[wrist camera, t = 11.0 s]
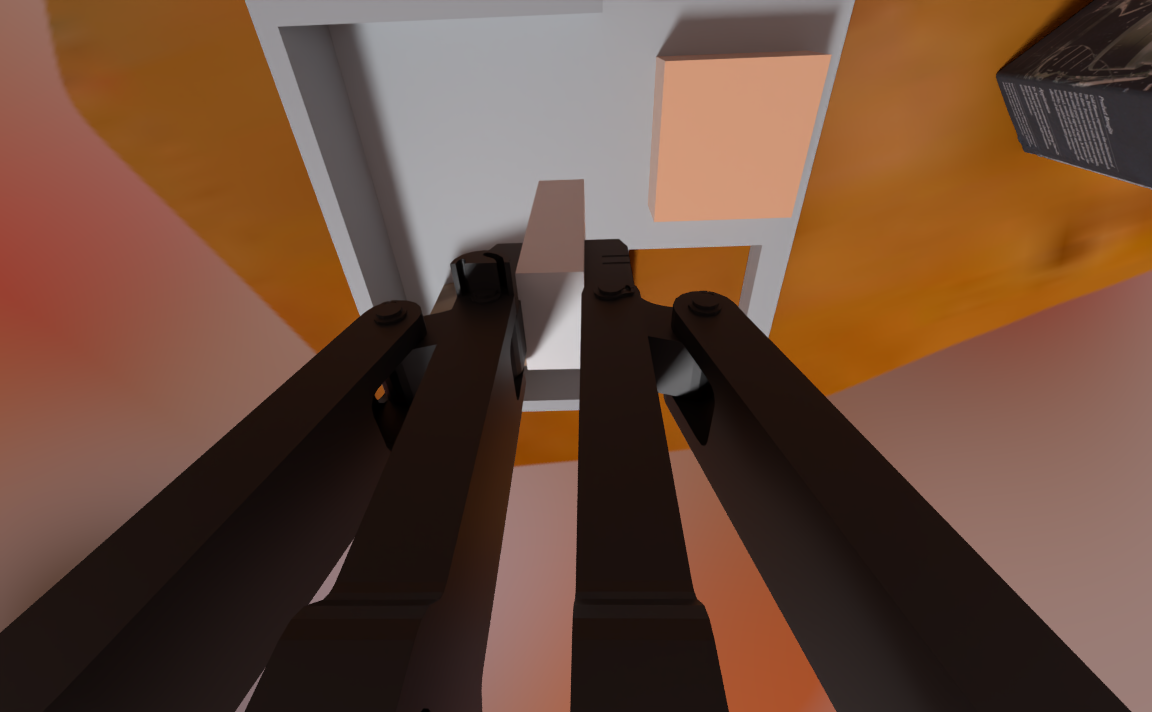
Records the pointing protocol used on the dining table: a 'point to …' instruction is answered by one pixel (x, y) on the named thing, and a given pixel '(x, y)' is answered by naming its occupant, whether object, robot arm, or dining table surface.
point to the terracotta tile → (732, 133)
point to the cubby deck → (511, 128)
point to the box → (1088, 92)
